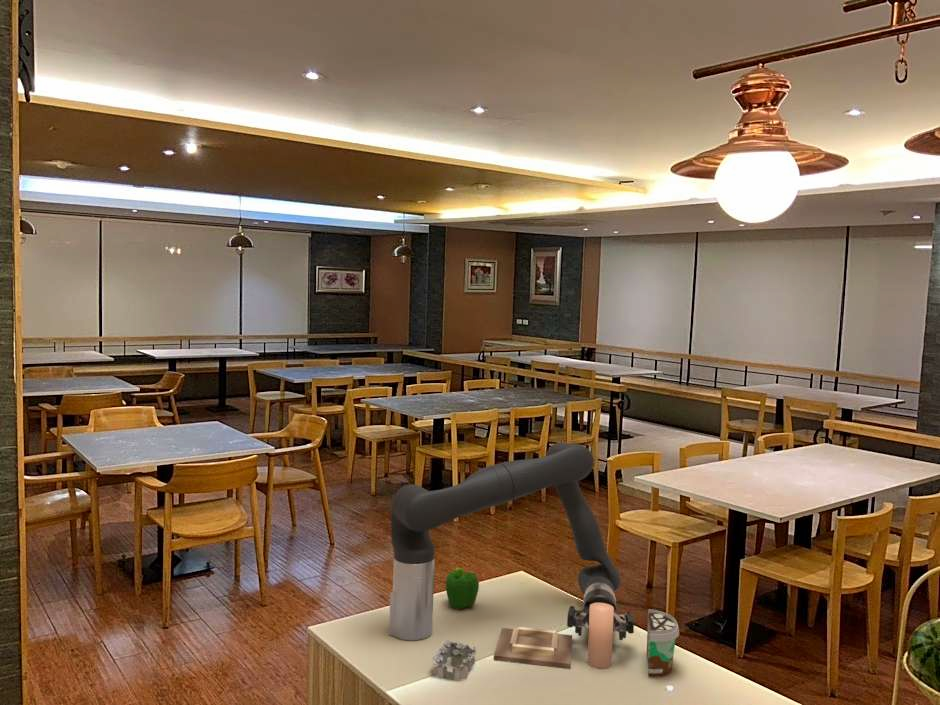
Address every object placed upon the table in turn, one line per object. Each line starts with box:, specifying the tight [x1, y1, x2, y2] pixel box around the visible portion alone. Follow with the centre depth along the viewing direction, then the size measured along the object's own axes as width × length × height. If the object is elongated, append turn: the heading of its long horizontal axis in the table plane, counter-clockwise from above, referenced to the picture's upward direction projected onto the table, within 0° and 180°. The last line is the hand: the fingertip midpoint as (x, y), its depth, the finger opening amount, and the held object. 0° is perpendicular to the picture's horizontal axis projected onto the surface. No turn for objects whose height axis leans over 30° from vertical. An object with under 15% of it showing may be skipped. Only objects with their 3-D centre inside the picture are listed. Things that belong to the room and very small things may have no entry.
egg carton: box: [431, 639, 477, 682], centre depth 150 cm, size 11×8×4 cm
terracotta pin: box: [587, 603, 614, 670], centre depth 153 cm, size 5×5×12 cm
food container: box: [646, 608, 680, 678], centre depth 152 cm, size 12×6×10 cm, turn 168°
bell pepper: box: [445, 566, 480, 610], centre depth 182 cm, size 8×8×10 cm
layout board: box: [493, 626, 573, 670], centre depth 159 cm, size 16×14×2 cm
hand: (600, 633), depth 153 cm, fingers open, 8 cm apart
